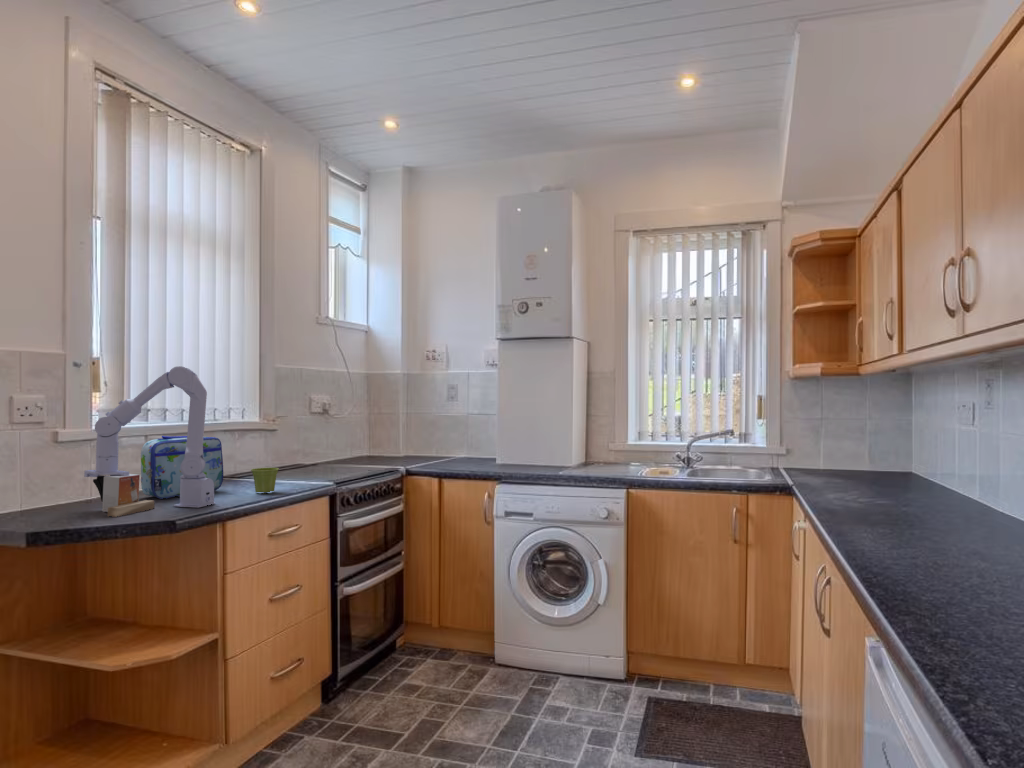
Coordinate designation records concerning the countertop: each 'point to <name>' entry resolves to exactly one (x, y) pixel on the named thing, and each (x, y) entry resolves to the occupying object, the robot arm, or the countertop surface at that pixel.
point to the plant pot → (264, 479)
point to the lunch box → (175, 464)
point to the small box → (120, 490)
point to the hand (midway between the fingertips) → (106, 501)
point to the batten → (130, 508)
